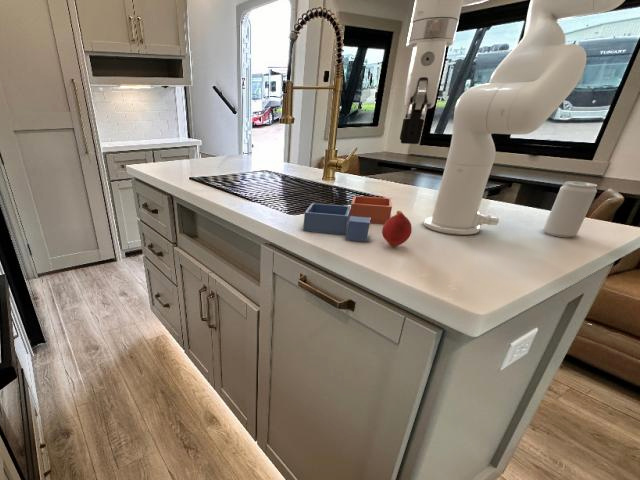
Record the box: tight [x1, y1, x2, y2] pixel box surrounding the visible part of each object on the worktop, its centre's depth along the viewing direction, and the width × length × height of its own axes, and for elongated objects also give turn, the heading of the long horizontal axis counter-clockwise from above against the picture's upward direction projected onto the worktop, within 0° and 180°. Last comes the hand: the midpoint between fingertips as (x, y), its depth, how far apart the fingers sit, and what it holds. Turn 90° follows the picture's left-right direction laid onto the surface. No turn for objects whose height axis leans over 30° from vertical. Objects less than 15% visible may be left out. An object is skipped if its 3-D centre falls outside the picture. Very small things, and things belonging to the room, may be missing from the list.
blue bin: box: [302, 202, 351, 236], centre depth 91 cm, size 10×10×5 cm
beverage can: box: [543, 180, 598, 238], centre depth 84 cm, size 6×6×12 cm
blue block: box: [345, 216, 371, 243], centre depth 83 cm, size 4×4×4 cm
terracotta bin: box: [349, 195, 393, 225], centre depth 99 cm, size 10×10×5 cm
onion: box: [381, 210, 413, 248], centre depth 77 cm, size 6×6×8 cm
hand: (408, 141), depth 71 cm, fingers open, 9 cm apart
